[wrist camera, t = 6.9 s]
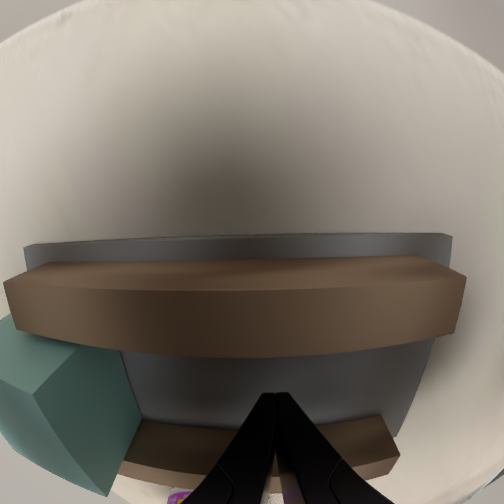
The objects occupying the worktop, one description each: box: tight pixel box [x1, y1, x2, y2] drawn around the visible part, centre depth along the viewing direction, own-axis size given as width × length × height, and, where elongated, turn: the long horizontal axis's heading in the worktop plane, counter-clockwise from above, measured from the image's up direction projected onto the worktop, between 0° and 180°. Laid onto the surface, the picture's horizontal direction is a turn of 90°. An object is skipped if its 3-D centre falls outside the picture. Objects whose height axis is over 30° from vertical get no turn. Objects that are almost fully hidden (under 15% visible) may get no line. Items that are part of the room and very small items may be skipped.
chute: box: [3, 233, 467, 494], centre depth 8 cm, size 16×10×3 cm, turn 92°
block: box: [0, 314, 142, 497], centre depth 7 cm, size 5×5×4 cm
